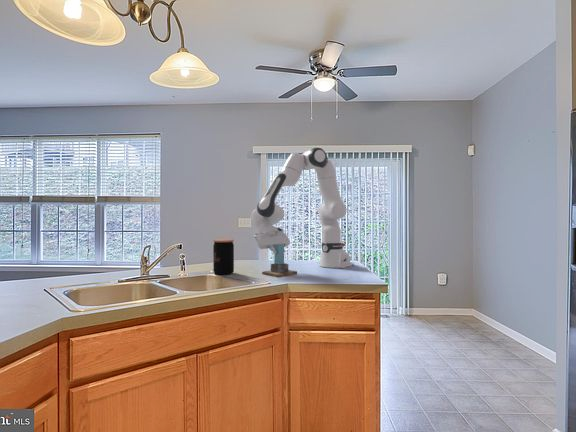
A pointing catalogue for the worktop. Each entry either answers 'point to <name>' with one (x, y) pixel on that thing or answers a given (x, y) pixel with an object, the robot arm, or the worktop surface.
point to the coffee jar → (223, 256)
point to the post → (279, 255)
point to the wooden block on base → (279, 270)
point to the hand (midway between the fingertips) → (280, 252)
